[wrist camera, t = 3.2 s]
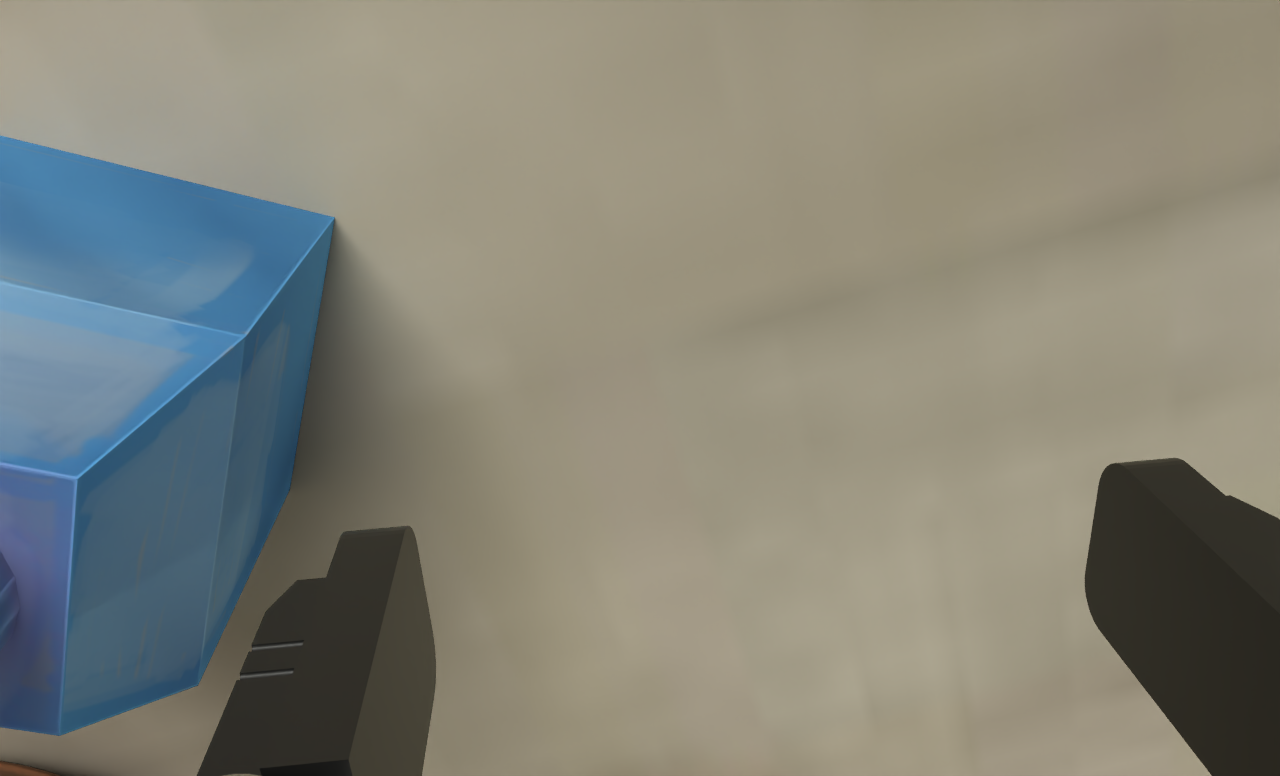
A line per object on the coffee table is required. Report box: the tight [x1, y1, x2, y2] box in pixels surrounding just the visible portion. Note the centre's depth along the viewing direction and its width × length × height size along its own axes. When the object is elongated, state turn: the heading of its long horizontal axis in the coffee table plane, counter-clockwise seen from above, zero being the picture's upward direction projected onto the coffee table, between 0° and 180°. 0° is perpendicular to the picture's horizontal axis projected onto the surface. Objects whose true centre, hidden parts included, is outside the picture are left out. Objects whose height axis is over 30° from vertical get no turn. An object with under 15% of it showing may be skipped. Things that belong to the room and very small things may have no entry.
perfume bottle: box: [0, 136, 335, 736], centre depth 15 cm, size 6×6×12 cm
